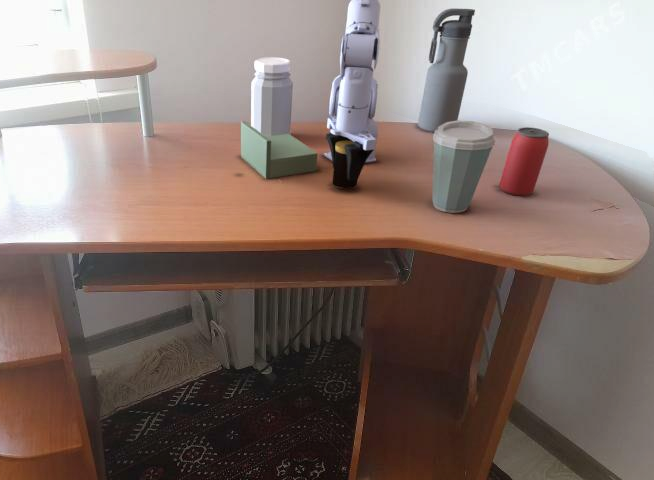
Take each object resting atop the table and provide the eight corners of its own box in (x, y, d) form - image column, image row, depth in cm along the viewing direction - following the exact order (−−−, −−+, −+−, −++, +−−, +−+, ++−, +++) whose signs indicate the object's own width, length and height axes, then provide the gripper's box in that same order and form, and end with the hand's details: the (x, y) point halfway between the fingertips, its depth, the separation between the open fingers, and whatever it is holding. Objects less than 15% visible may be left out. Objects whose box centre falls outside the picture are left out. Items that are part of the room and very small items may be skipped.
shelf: (288, 150, 128) (289, 116, 124) (316, 171, 118) (319, 134, 113) (240, 156, 124) (240, 121, 120) (265, 178, 114) (266, 141, 109)
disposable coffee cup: (469, 223, 98) (490, 141, 89) (411, 209, 103) (426, 129, 94) (483, 203, 105) (504, 125, 97) (428, 190, 110) (444, 115, 101)
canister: (348, 177, 113) (353, 139, 108) (362, 186, 109) (367, 147, 104) (327, 180, 111) (330, 142, 107) (340, 190, 107) (344, 150, 103)
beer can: (531, 186, 112) (550, 128, 106) (533, 199, 107) (553, 139, 100) (497, 182, 114) (514, 124, 107) (498, 194, 109) (515, 134, 102)
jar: (290, 144, 132) (294, 65, 122) (250, 143, 132) (251, 64, 122) (289, 132, 140) (293, 56, 130) (251, 131, 140) (252, 56, 130)
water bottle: (417, 132, 141) (439, 11, 125) (414, 121, 149) (434, 6, 133) (457, 134, 140) (485, 12, 124) (452, 123, 148) (478, 7, 132)
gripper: (316, 96, 105) (310, 164, 113) (355, 117, 94) (347, 190, 102) (347, 93, 108) (340, 159, 115) (389, 113, 97) (378, 185, 105)
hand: (345, 174), depth 109 cm, fingers closed on canister, 5 cm apart
